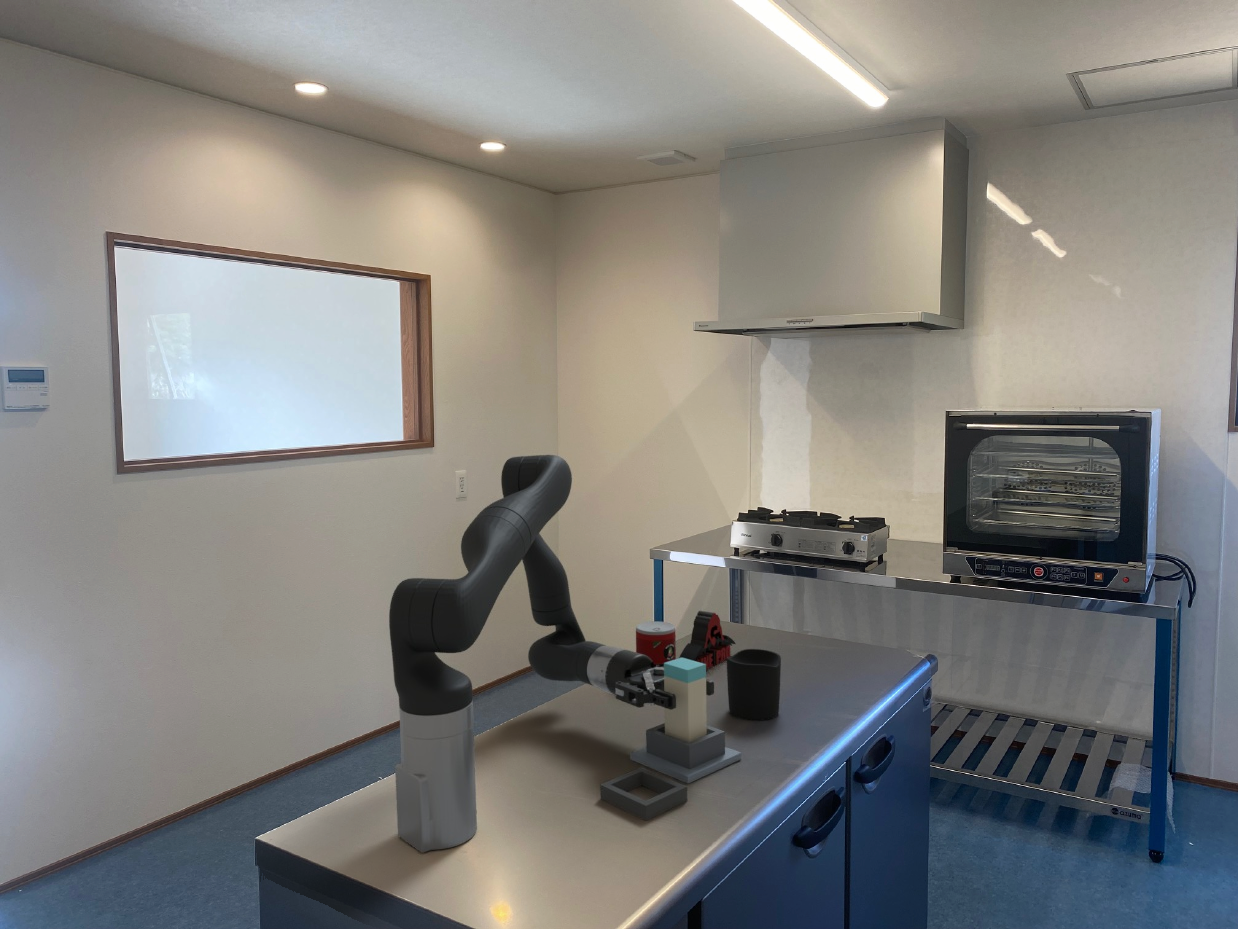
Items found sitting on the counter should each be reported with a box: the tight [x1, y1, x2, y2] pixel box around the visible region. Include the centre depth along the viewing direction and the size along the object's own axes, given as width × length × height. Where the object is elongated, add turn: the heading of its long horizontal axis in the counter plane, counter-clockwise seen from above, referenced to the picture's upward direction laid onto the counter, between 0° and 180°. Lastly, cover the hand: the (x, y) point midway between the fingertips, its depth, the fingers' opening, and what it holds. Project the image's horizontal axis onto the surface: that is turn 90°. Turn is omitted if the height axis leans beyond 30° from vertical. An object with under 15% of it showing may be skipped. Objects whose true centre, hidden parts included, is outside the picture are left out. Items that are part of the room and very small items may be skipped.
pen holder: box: [725, 648, 782, 722], centre depth 155 cm, size 9×9×10 cm
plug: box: [664, 657, 708, 742], centre depth 135 cm, size 4×5×14 cm
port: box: [630, 722, 742, 784], centre depth 136 cm, size 12×12×4 cm
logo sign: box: [678, 610, 736, 671], centre depth 182 cm, size 18×4×11 cm, turn 144°
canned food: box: [635, 621, 677, 668], centre depth 172 cm, size 8×8×11 cm
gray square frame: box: [599, 767, 688, 821], centre depth 122 cm, size 8×9×2 cm
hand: (694, 695), depth 133 cm, fingers open, 8 cm apart
